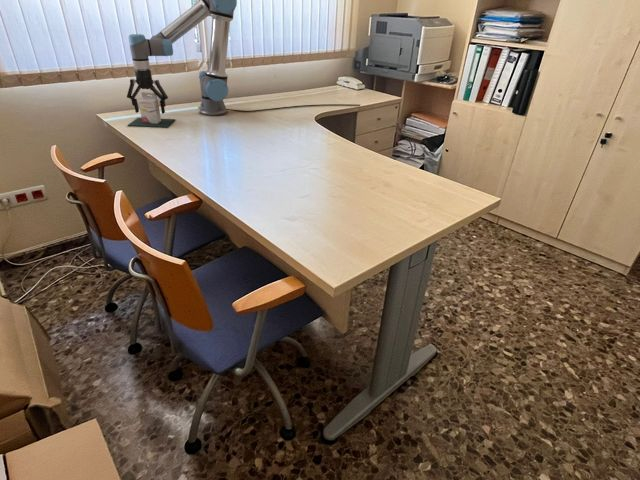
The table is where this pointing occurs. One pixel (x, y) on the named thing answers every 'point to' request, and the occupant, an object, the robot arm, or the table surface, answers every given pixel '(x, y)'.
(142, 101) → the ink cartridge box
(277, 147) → the table surface
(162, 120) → the desk mat
